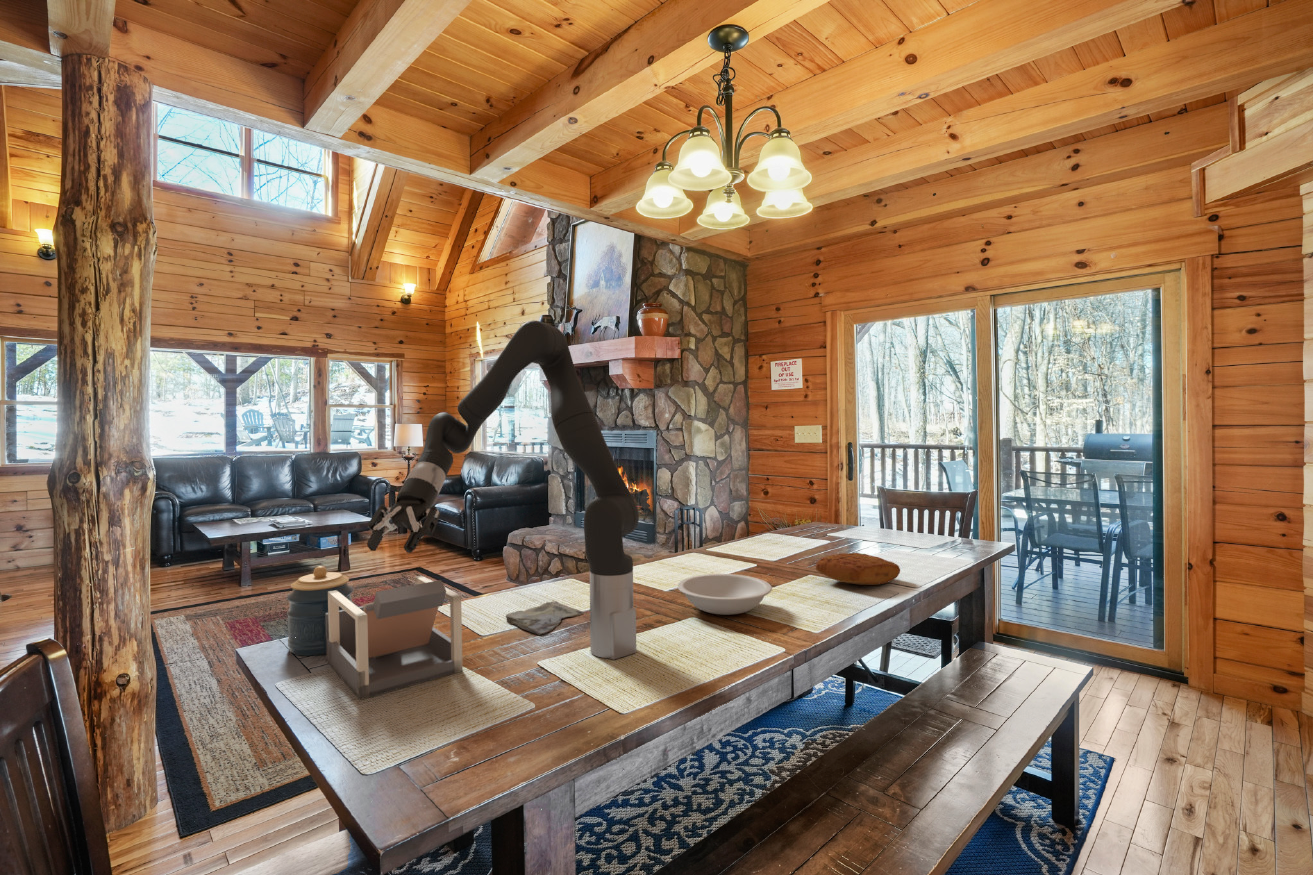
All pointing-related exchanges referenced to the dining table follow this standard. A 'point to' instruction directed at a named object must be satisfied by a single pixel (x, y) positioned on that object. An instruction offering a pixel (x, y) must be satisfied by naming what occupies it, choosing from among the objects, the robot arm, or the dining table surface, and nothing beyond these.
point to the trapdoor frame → (392, 669)
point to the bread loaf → (858, 568)
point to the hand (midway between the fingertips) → (388, 549)
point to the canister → (312, 610)
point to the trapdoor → (403, 617)
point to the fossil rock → (542, 617)
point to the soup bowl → (724, 592)
